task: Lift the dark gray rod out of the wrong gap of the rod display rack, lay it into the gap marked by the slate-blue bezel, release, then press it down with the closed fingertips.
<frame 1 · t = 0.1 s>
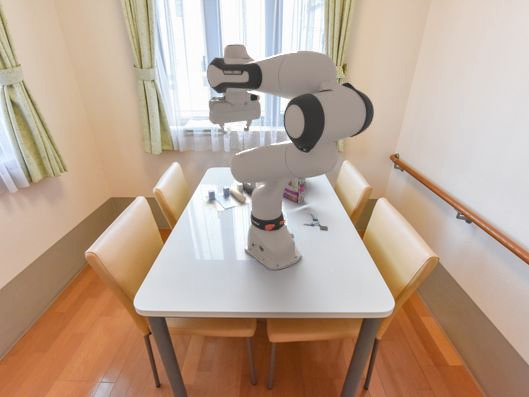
hand: (235, 132, 104), 39 cm above the table, tool pointing down, fingers open, 8 cm apart
dark gray rod: (250, 193, 141), point 1 cm above the table, touching rod display rack
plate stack: (279, 183, 156), on the table
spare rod: (237, 196, 137), point 1 cm above the table, touching rod display rack
candy bar box: (292, 199, 137), on the table
key chain: (313, 225, 117), on the table
rod display rack: (237, 198, 138), on the table
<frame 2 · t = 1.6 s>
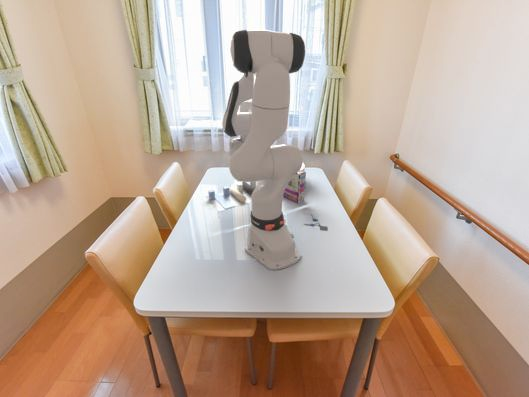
hand: (250, 163, 133), 18 cm above the table, tool pointing down, fingers open, 8 cm apart
nothing on the table moved.
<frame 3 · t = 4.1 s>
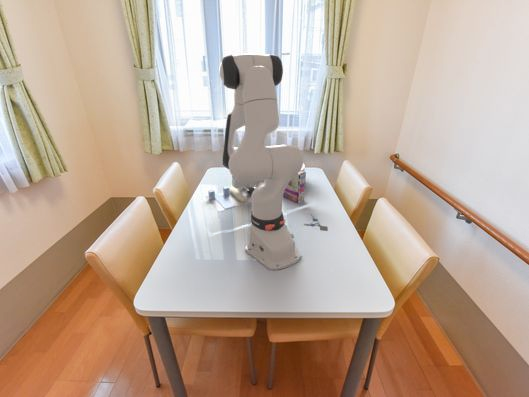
hand: (251, 191, 140), 2 cm above the table, tool pointing down, fingers closed on dark gray rod, 4 cm apart
dark gray rod: (250, 193, 141), point 1 cm above the table, touching rod display rack, gripper
everything else where it was.
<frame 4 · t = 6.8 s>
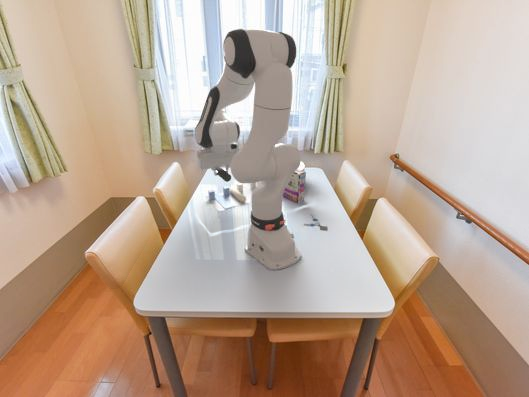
hand: (221, 174, 126), 16 cm above the table, tool pointing down, fingers closed on dark gray rod, 4 cm apart
dark gray rod: (220, 175, 127), point 15 cm above the table, touching gripper
everything else where it was.
when the fingers open (3 cm above the table, at t = 9.7 s): dark gray rod stays where it is, resting on rod display rack.
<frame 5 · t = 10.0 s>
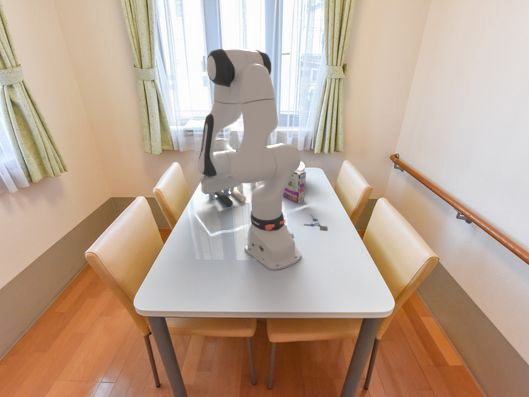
hand: (223, 197, 132), 3 cm above the table, tool pointing down, fingers open, 7 cm apart
dark gray rod: (222, 200, 134), point 1 cm above the table, touching rod display rack
everything else where it was.
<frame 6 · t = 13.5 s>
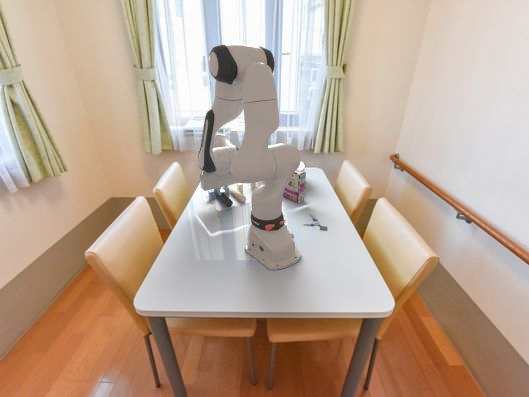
hand: (222, 194, 131), 5 cm above the table, tool pointing down, fingers closed, pressing on dark gray rod
dark gray rod: (222, 200, 134), point 1 cm above the table, touching rod display rack, gripper
everything else where it was.
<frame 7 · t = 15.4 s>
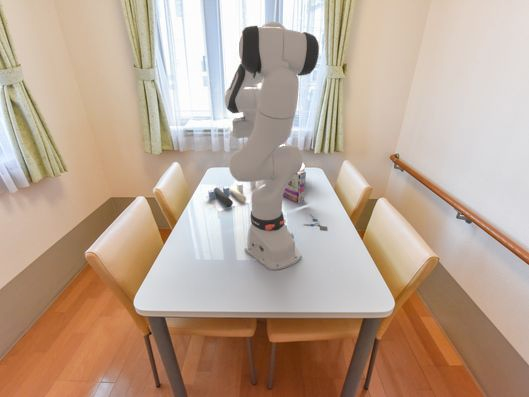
hand: (253, 144, 128), 27 cm above the table, tool pointing down, fingers closed
dark gray rod: (222, 200, 134), point 1 cm above the table, touching rod display rack
everything else where it was.
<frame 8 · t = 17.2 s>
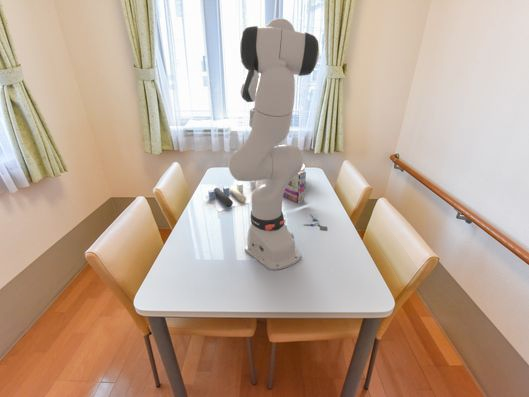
hand: (269, 135, 130), 31 cm above the table, tool pointing down, fingers closed
nothing on the table moved.
at the end: dark gray rod inside the target area on the rod display rack (0.0 cm from its centre), point 1.3 cm above the rod display rack's base; the gripper is holding nothing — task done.
